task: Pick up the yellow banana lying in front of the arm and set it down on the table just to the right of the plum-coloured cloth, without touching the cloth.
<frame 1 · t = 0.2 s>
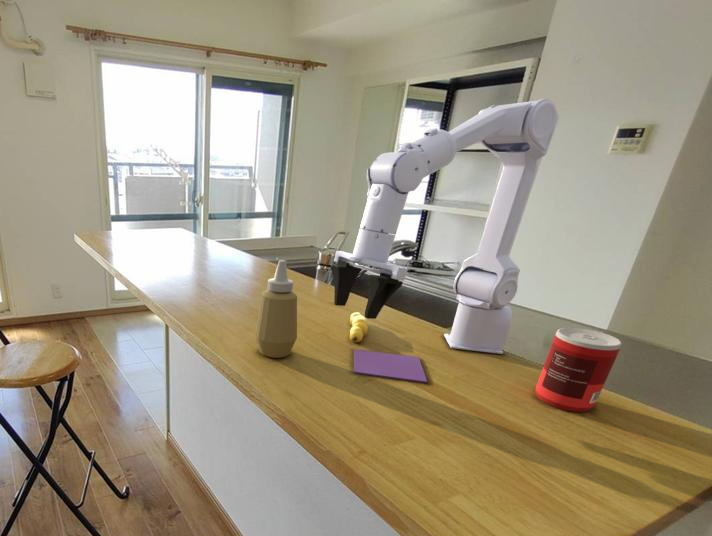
hand: (354, 311, 75), 10 cm above the table, tool pointing down, fingers open, 7 cm apart
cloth: (387, 365, 79), on the table
squeeze bottle: (274, 353, 84), on the table
canned food: (562, 401, 68), on the table
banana: (358, 332, 95), on the table
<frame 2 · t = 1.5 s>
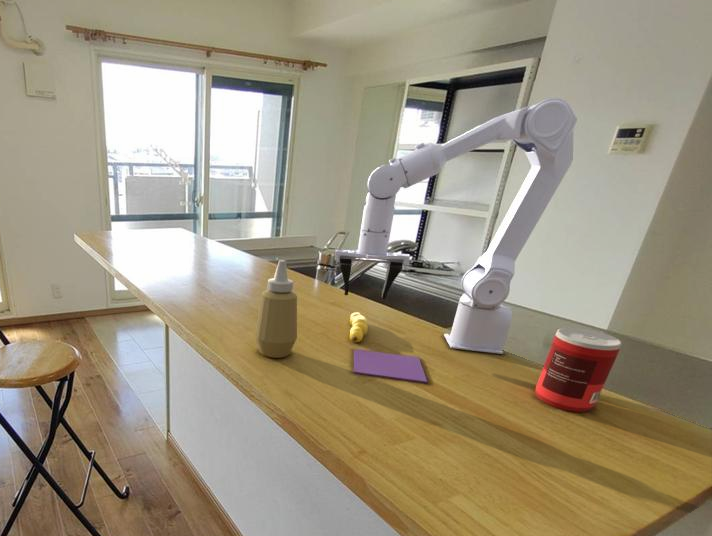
hand: (364, 295, 92), 8 cm above the table, tool pointing down, fingers open, 7 cm apart
nothing on the table moved.
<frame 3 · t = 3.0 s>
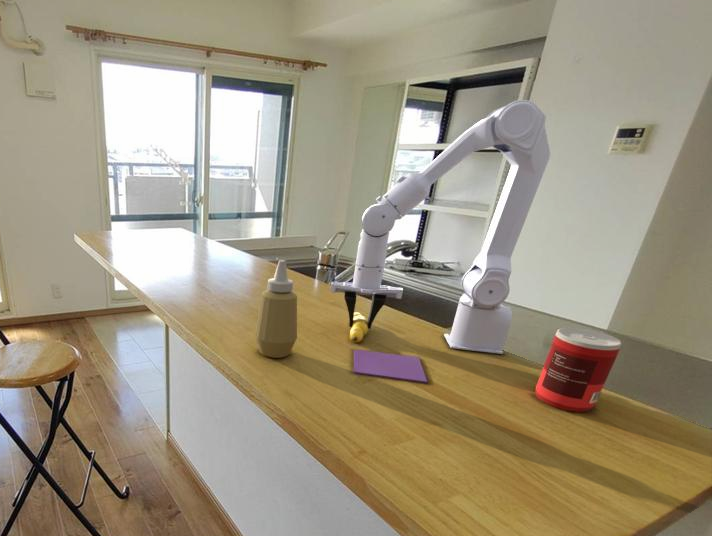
hand: (359, 326, 95), 1 cm above the table, tool pointing down, fingers closed on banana, 3 cm apart
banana: (358, 332, 95), on the table, touching gripper
everything else where it was.
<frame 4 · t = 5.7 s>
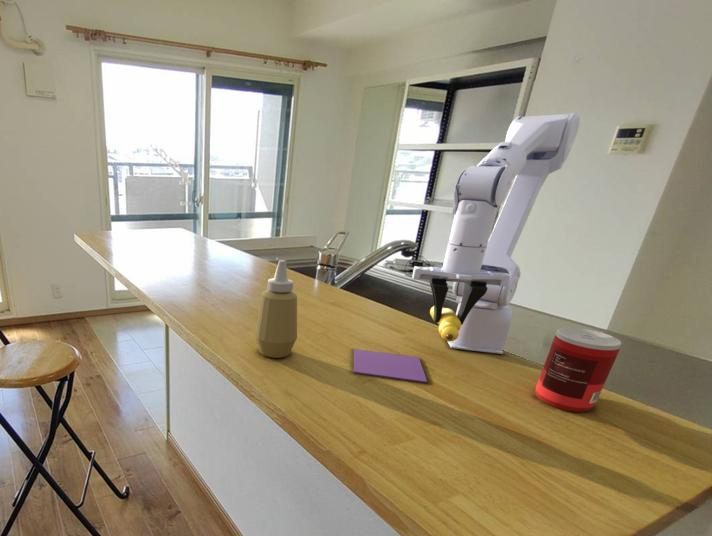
hand: (447, 321, 77), 8 cm above the table, tool pointing down, fingers closed on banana, 3 cm apart
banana: (445, 329, 77), point 7 cm above the table, touching gripper
everything else where it was.
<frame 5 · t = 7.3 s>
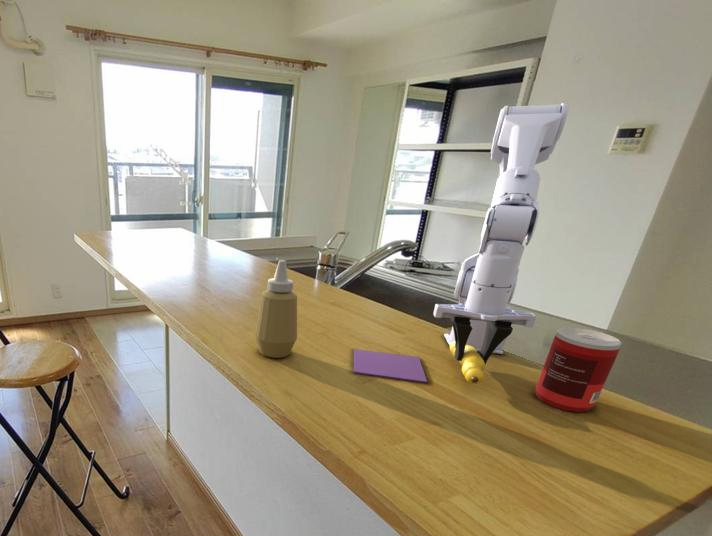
hand: (469, 360, 75), 3 cm above the table, tool pointing down, fingers closed on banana, 3 cm apart
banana: (467, 367, 75), point 2 cm above the table, touching gripper
everything else where it was.
when the fingers open (1 cm above the table, at t = 8.2 s): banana stays where it is, on the table.
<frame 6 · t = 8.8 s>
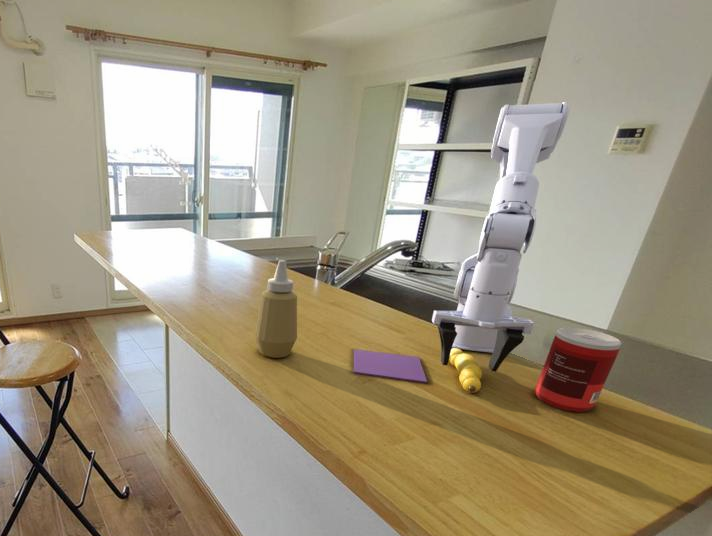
hand: (467, 366, 75), 2 cm above the table, tool pointing down, fingers open, 7 cm apart
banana: (465, 375, 76), on the table
everything else where it was.
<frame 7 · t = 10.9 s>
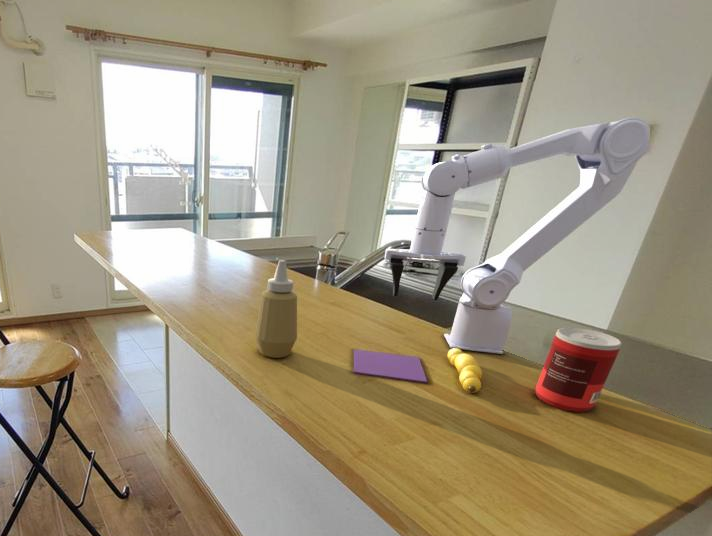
hand: (414, 297, 89), 9 cm above the table, tool pointing down, fingers open, 7 cm apart
nothing on the table moved.
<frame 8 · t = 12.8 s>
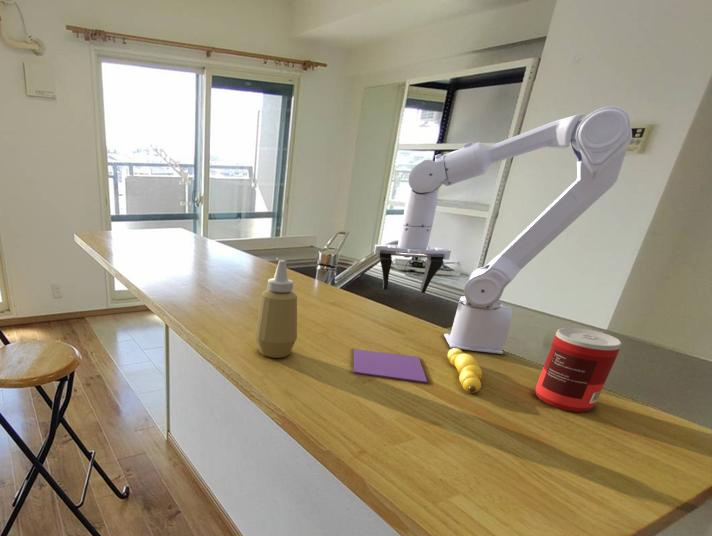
hand: (403, 290, 93), 9 cm above the table, tool pointing down, fingers open, 7 cm apart
nothing on the table moved.
at the end: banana inside the target area (0.1 cm from its centre), on the table; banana touching table; the gripper is holding nothing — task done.
